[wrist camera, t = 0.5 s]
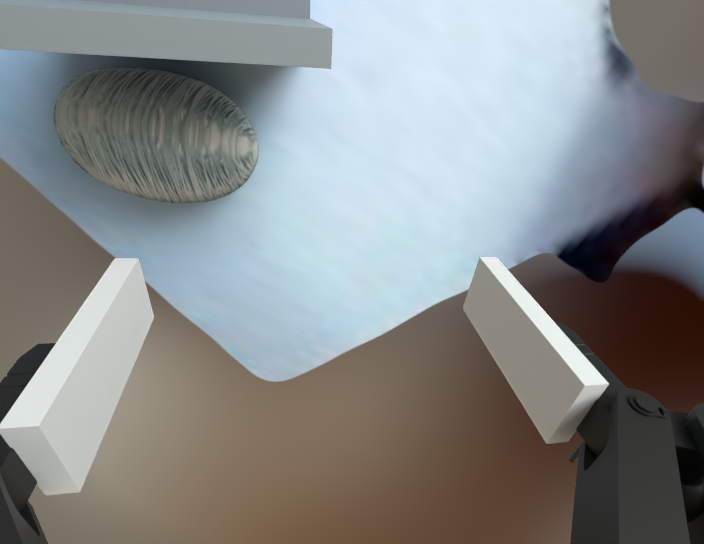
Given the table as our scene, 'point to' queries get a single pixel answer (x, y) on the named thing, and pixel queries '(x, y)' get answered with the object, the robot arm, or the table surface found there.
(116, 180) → the grey streaked ovoid
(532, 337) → the robot arm
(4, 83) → the table surface
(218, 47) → the grey screen
